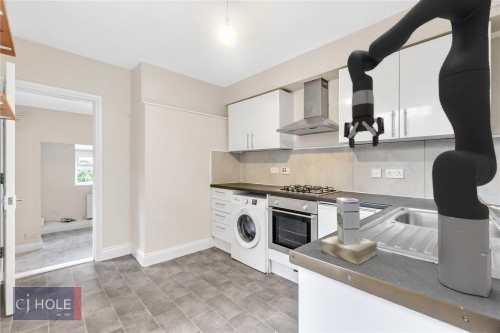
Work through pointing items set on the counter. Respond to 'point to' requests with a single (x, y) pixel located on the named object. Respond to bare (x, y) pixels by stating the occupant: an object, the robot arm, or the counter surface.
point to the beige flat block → (349, 249)
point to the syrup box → (348, 220)
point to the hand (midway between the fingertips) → (363, 147)
